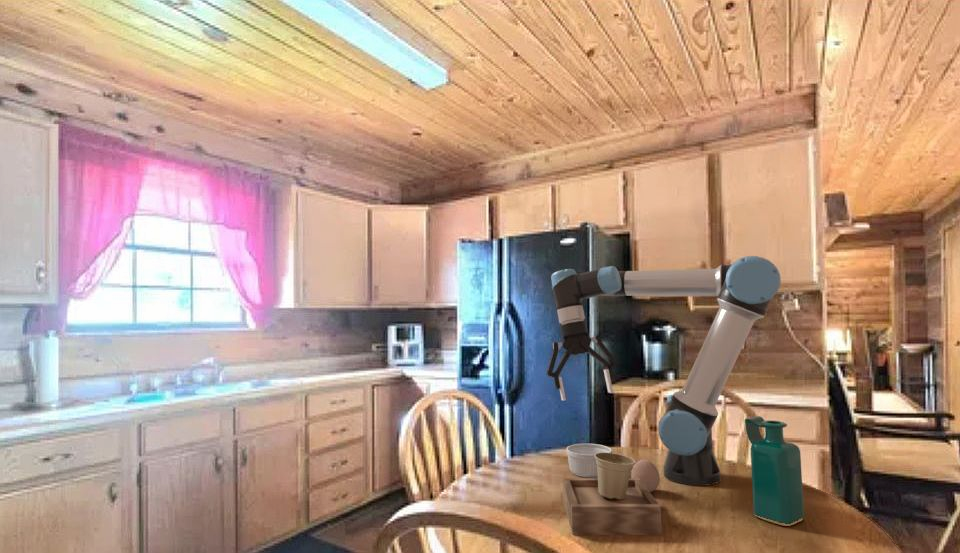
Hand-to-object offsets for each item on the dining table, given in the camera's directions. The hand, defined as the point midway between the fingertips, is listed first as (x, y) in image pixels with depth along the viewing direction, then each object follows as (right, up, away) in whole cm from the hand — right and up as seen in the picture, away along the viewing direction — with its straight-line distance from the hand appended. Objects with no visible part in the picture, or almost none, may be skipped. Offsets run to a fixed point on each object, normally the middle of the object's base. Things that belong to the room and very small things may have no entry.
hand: (587, 396), depth 150 cm
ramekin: (+2, -24, +7) cm, 26 cm away
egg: (+13, -23, -10) cm, 29 cm away
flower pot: (+1, -18, -25) cm, 31 cm away
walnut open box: (0, -23, -26) cm, 35 cm away
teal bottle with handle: (+37, -22, -28) cm, 52 cm away
